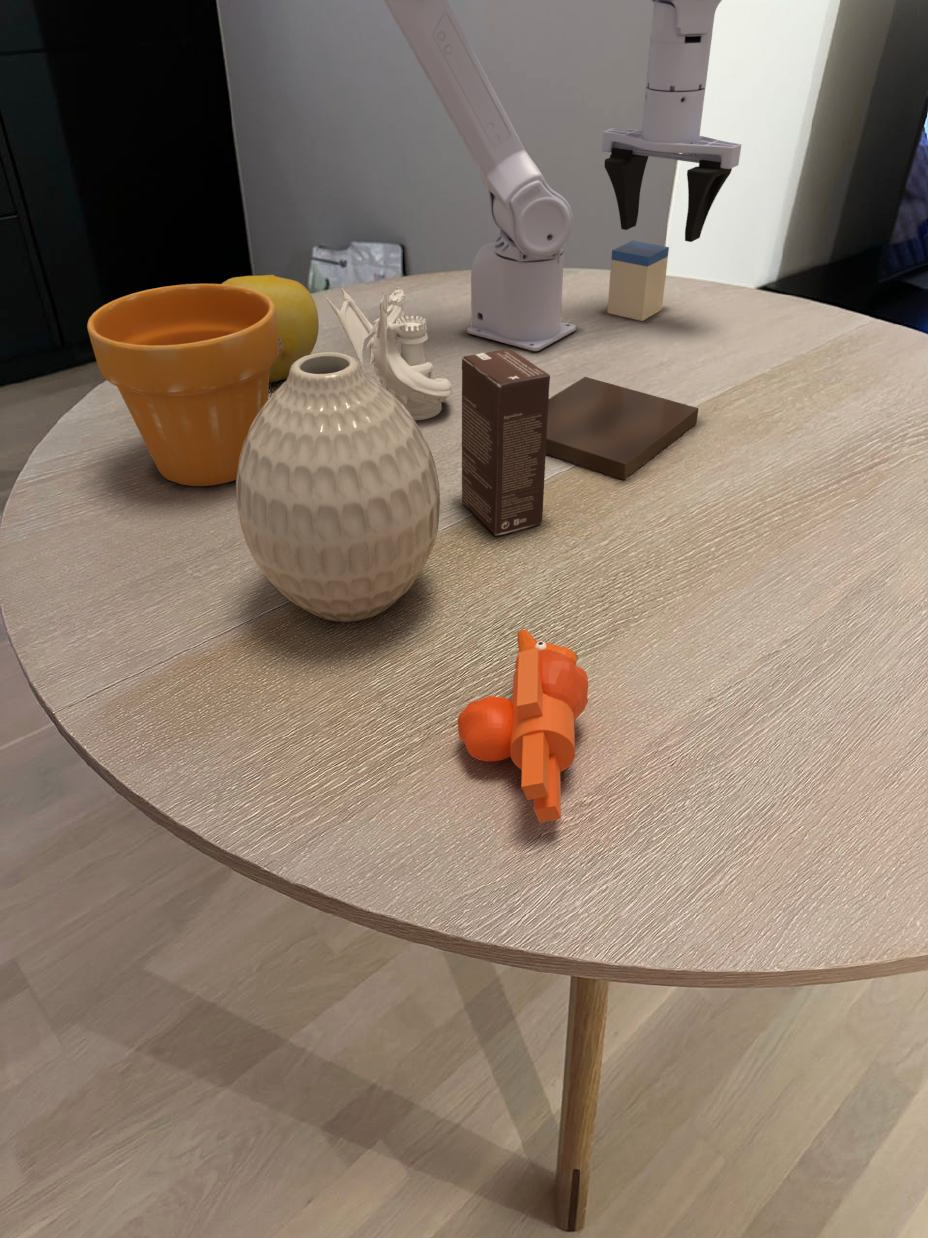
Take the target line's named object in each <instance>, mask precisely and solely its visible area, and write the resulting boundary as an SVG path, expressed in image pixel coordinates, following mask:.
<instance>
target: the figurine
mask: <svg viewBox="0 0 928 1238" xmlns="http://www.w3.org/2000/svg"><path fill="white" fill-rule="evenodd" d="M340 289H341V292H342V297H343V298H342V299H343V302H342V305H341V309H338V308H337V307H336V306H335V305H334V304H333V303H332V302H331V300H330V299H329V298H328V297H327V296H325V299H326V300H327V302H328V304H329V305H330V307H331V309H332V310H333V312H334V314H335V315H336V317H337V319H338V321H339V323H340V325H341V326H342V330H343V331H344V333H345V334H346V336H347V338H348V340H349V342H350V344H351V346H352V348H353V350H354V352H355V354H356V356H357V358H358V360H359V362H360V365H361V367H362V369H365V367H364V365H363V356H364V355H363V349H364V344H365V341H366V339H367V338H369V337H370V338H369V340H368V341H367V344H366V348H365V351H366V352H367V351H368V349H370V359H369V365H372V364H373V369H374V371H373V374H374V379H376V378H377V377H378V378H379V381H380V384H381V385H382V386H383V387H384V388H386V389H387V390H388V391H389V392H390V393H391V394H392V395H394V396H395V397H396V398H397V399H398V400H399V401H400V402H401V403H402V405H403V406H404V407H405V408H406V409H407V410H408V411H409V413H410V414H411V416H412V417H413V419H414V420H415V421H422V420H428V419H431V418H434V417H435V416H437V415H438V414H440V413H441V412H442V403H444V402H445V400H446V399H447V398H449V397H450V396H451V395H453V389H452V388H453V387H452V383H451V381H450V380H448V379H447V378H445V377H443V378H441V377H437V378H434V368H433V363H432V362H430V361H427V362H426V358H425V348H424V342H426V341H427V340H428V339H429V337H428V333H427V319H426V318H424V317H422V316H420V315H416V317H415V315H411V316H410V317H409V315H407V313H406V312H405V310H404V305H405V301H406V294H405V292H404V291H403V289H402V288H401V287H395V289H394V291H393V292H392V293H391V294H389V295H388V290H387V289H385V291H384V290H381V298H380V301H379V306H378V307H379V308H378V309H379V316H378V318H376V319H375V320H374V321H373V322H370V321H369V319H367V317H366V316H365V315H364V313H363V312H362V311H361V309H360V308H359V307H358V306H357V304H356V302H355V300H354V299H352V297H351V296H350V295H349V294H348V293H347V292H346V290H344V288H343V287H342V286H341V287H340ZM409 318H410V319H409ZM372 324H373V325H372ZM397 342H398V343H400V344H401V345H400V350H401V352H399V350H398V347H397ZM400 353H401V354H400Z"/></svg>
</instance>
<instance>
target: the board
mask: <svg viewBox="0 0 928 1238" xmlns="http://www.w3.org/2000/svg"><path fill="white" fill-rule="evenodd" d="M698 417H699V407H696V406H692V405H689V404H685V403H682V402H678V401H674V400H671V399H667V398H665V397H664V398H663V397H661V396H657V395H653V394H649V393H647V392H643V391H638V390H636V389H635V390H634V389H631V388H628V387H624V386H620V385H616V384H613V383H610V382H605V381H602V380H600V379H599V380H598V379H595V378H592V377H588V376H584V377H582V378H581V379H579V380H577V381H576V382H574V383H572V384H571V385H569V386H568V387H566V388H564V389H563V390H560V391H559V392H558V393H557V394H554V395H553V396H551V397H549V402H548V422H547V439H546V455H547V456H551V457H553V458H556V459H559V460H562V461H565V462H568V463H571V464H574V465H577V466H581V467H583V468H586V469H589V470H592V471H595V472H599V473H601V474H604V475H607V476H610V477H614V478H616V479H619V480H623V481H624V480H625V479H627V478H628V477H629V476H631V475H632V474H633V473H635V472H636V471H637V470H639V469H640V468H641V467H642V466H643V465H645V464H646V463H648V462H649V461H650V460H651V459H652V458H654V457H655V456H656V455H657V454H659V453H660V452H662V451H663V450H664V449H665V448H666V447H668V446H669V445H670V444H672V443H673V442H674V441H676V440H677V439H678V438H680V436H682V435H683V434H684V433H686V432H687V431H688V430H690V429H691V428H693V426H695V425H696V424H697V422H698V421H697V420H698Z"/></svg>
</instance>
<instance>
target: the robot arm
mask: <svg viewBox="0 0 928 1238" xmlns="http://www.w3.org/2000/svg"><path fill="white" fill-rule="evenodd" d="M383 1H384V3H385V5H386V7H387V8H388V10H389V12H390V14H391V16H392V18H393V19H394V21H395V23H396V25H397V26H398V28H399V30H400V32H401V34H402V35H403V37H404V39H405V41H406V43H407V45H408V46H409V48H410V50H411V52H412V53H413V55H414V57H415V58H416V60H417V62H418V64H419V65H420V67H421V69H422V71H423V73H424V75H425V77H426V78H427V80H428V82H429V84H430V85H431V87H432V89H433V91H434V92H435V94H436V96H437V98H438V100H439V101H440V103H441V106H442V107H443V109H444V111H445V113H446V114H447V116H448V118H449V119H450V121H451V123H452V124H453V126H454V128H455V130H456V132H457V133H458V135H459V137H460V139H461V141H462V142H463V144H464V146H465V147H466V149H467V151H468V153H469V155H470V156H471V159H472V160H473V162H474V163H475V165H476V167H477V169H478V171H479V176H480V179H481V182H482V184H483V186H484V187H485V189H486V192H487V194H488V197H489V207H490V208H489V210H490V215H491V219H492V220H493V222H494V224H495V225H496V226H497V227H498V229H500V230H499V233H498V235H497V237H496V240H495V242H489V243H486V244H484V245H483V246H482V247H481V248H480V249H479V250H478V252H476V255H475V257H474V260H473V262H472V266H471V272H470V304H471V305H470V306H471V309H470V311H471V312H470V313H471V326H469V327H468V328H467V330H466V332H467V334H469V335H474V336H476V337H481V338H484V339H487V340H491V341H496V342H500V343H503V344H507V345H511V346H513V347H517V348H520V349H524V350H528V351H532V352H539V351H542V350H543V349H544V348H547V347H548V346H550V345H551V344H554V343H555V342H558V341H559V340H561V339H562V338H564V337H566V336H568V335H570V334H572V333H573V332H576V330H577V325H575V324H573V323H568V322H563V321H562V307H563V306H562V303H563V283H564V282H563V281H564V280H563V279H564V264H565V263H564V259H565V245H566V243H567V242H568V241H569V239H570V237H571V234H572V231H573V228H574V227H573V226H574V215H573V212H572V211H573V210H572V208H571V205H570V204H569V202H568V200H567V199H566V198H565V197H564V196H562V195H561V194H560V193H558V192H557V191H555V190H554V189H552V188H551V187H550V185H549V184H548V183H547V181H546V179H545V177H544V175H543V174H542V172H541V170H540V169H539V168H538V166H537V164H536V163H535V162H534V160H533V159H532V158H531V156H530V155H529V154H528V152H527V150H526V148H525V147H524V145H523V143H522V141H521V139H520V137H519V136H518V133H517V132H516V129H515V127H514V125H513V124H512V121H511V120H510V118H509V116H508V114H507V112H506V110H505V108H504V107H503V105H502V103H501V101H500V99H499V96H498V95H497V93H496V91H495V89H494V88H493V85H492V83H491V81H490V80H489V78H488V76H487V74H486V72H485V70H484V68H483V66H482V64H481V63H480V60H479V59H478V57H477V55H476V53H475V51H474V49H473V47H472V45H471V43H470V41H469V39H468V37H467V35H466V34H465V32H464V30H463V28H462V25H461V24H460V22H459V20H458V18H457V16H456V14H455V12H454V10H453V8H452V6H451V4H450V3H449V0H383ZM650 1H651V2H652V3H653V8H652V20H651V31H650V37H649V48H648V49H649V51H648V61H647V73H646V83H645V93H644V103H643V115H642V124H641V129H626V128H625V129H623V128H609V129H606V130H604V131H602V143H601V152H603V153H610V154H609V157H608V158H605V159H604V161H603V163H604V166H603V167H604V169H605V171H606V173H607V175H608V178H609V180H610V182H611V185H612V189H613V192H614V195H615V198H616V205H617V209H618V214H619V222H620V229H621V230H624V231H627V230H631V229H632V228H634V227H636V226H637V222H638V219H639V218H638V217H639V210H640V198H641V189H642V184H643V179H644V175H645V171H646V166H647V163H648V160H649V157H650V158H651V157H652V158H658V159H666V160H673V161H681V162H687V163H695V164H698V166H694V167H691V168H689V169H687V170H686V178H687V192H688V193H687V194H688V195H687V197H688V198H687V199H688V201H687V214H686V220H685V221H686V222H685V229H684V241H685V242H688V243H689V242H690V243H692V242H694V241H696V240H699V239H700V238H701V234H702V232H703V228H704V225H705V223H706V220H707V218H708V215H709V212H710V210H711V208H712V206H713V203H714V201H715V199H717V198H716V197H717V195H718V194H719V192H720V190H721V189H722V187H723V185H724V184H725V182H726V181H727V179H728V178H729V176H730V175H731V173H732V170H733V168H735V167H738V166H739V165H740V158H741V151H742V144H741V143H736V142H730V141H726V140H720V139H718V138H717V139H716V138H712V137H708V136H703V135H701V127H702V120H703V111H704V102H705V95H706V88H707V87H706V86H707V79H708V73H709V72H708V70H709V63H710V55H711V48H712V47H711V46H712V40H713V31H714V23H715V14H716V11H717V9H718V7H719V5H720V4H721V3H722V1H723V0H650Z"/></svg>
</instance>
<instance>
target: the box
mask: <svg viewBox="0 0 928 1238" xmlns="http://www.w3.org/2000/svg"><path fill="white" fill-rule="evenodd" d="M550 381H551V375H550V374H549V373H547V372H546V371H545V370H543V369H541V368H540V367H538V366H536V365H535V364H534V363H533V362H531V361H529V360H528V359H527V358H525V357H523V356H522V355H521V354H519V353H518V352H516V351H515V350H513V348H506V349H498V350H491V351H487V352H480V353H475V354H469V355H463V357H462V358H461V502H462V503H463V505H464V506H466V507H467V508H468V509H469V510H470V511H471V512H472V513H473V515H474V516H476V518H478V520H480V521H481V523H482V524H483V525H485V526H486V528H487V529H489V531H490V532H491V533H492V534H493V535H494V536H505V535H508V534H511V533H515V532H520V531H522V530H525V529H528V528H531V527H534V526H537V525H540V524H541V523H543V514H544V513H543V512H544V496H545V479H546V455H547V454H546V439H547V422H548V402H549V399H550Z"/></svg>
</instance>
